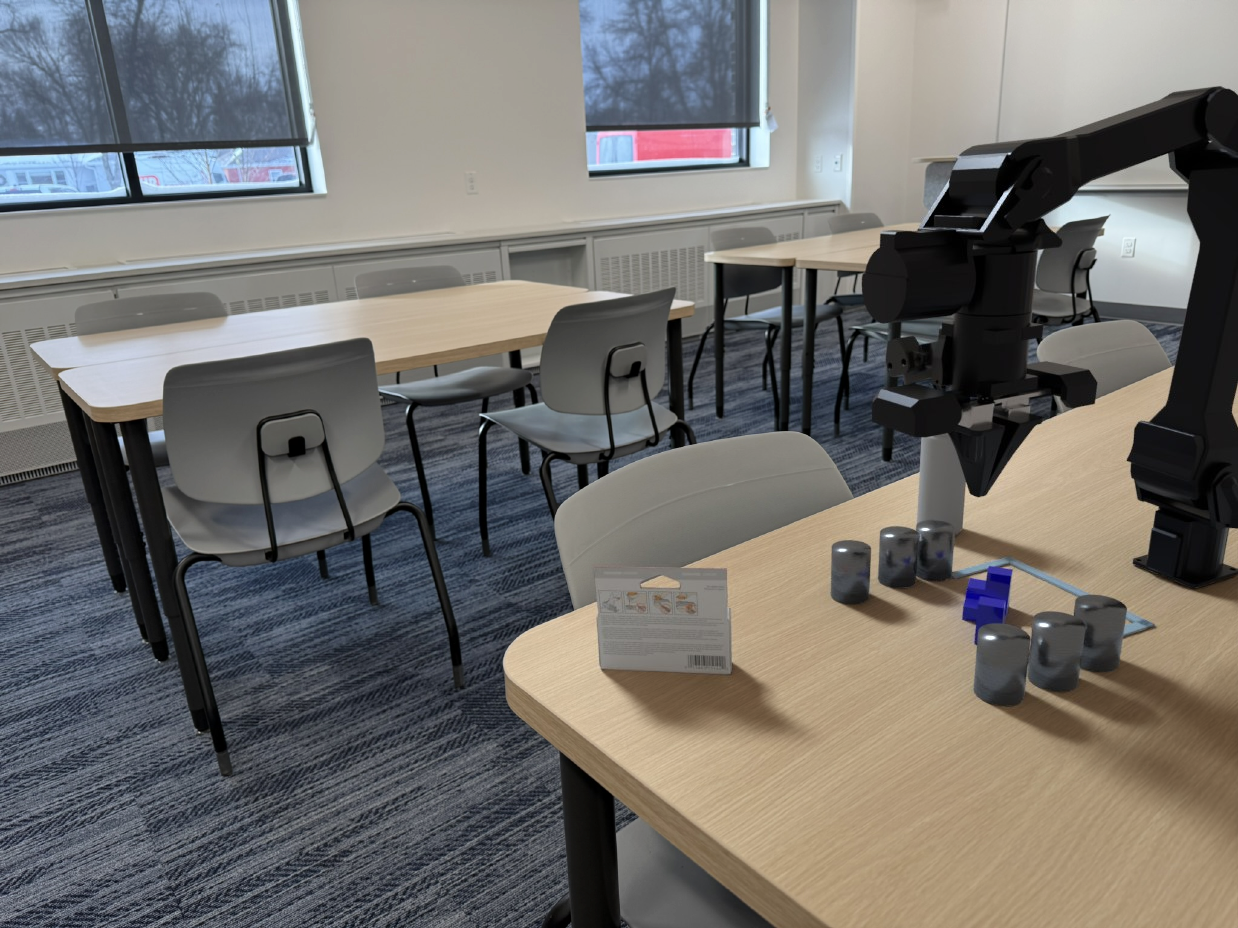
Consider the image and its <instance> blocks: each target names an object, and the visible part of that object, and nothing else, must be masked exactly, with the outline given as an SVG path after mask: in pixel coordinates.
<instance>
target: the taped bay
mask: <svg viewBox="0 0 1238 928" xmlns="http://www.w3.org/2000/svg"><path fill="white" fill-rule="evenodd" d="M1007 565H1011V566H1013V567H1015V568H1017V569H1019V570H1021V571H1022V572H1023V571H1024V572H1026V573H1028V574H1030V575H1032V576H1034V577H1036V578H1039V579H1040V580H1043V581H1044V582H1047V583H1048V584H1051V585H1053V586H1055V587H1056V588H1057V587H1058V588H1059V589H1062V591H1066V592H1068V593H1069V594H1072V595H1074V596H1076V597H1077V598H1078V597H1079V596H1083V595H1092V594H1091V593H1089V592H1087V591H1085V590H1082V589H1081V588H1078V587H1076V586H1074V585H1072V584H1070V583H1067V582H1065V581H1063V580H1061V579H1059V578H1056V577H1055V576H1052V575H1050V574H1048V573H1046V572H1044V571H1042V570H1040V569H1037V568H1035V567H1033V566H1031V565H1028V564H1026V563H1024V562H1022V561H1021V560H1018V559H1016V558H1013V557H1011V556H1007V557H1006V556H1005V557H1002V558H999V559H995V560H991V561H988V562H983V563H980V564H977V565H974V566H973V565H972V566H970V567H965V568H962V569H958V570H954V571H952V575H951V578H953V579H959V578H964V577H966V576H969V575H974V574H977V573H980V572H981V573H982V572H985V571H988V567H989V566H993V567H1000V568H1001V567H1003V566H1007ZM1126 621H1128V622H1131V623H1128V624H1125V627H1124V634H1123V637H1126V636H1129V635H1132V634H1135V633H1138V632H1141V631H1144V630H1148V629H1150V628H1153V627H1155V623H1154V622H1152V621H1149V620H1148V619H1145V618H1143V617H1141V616H1139V615H1136V614H1134V613H1133V612H1130V611H1128V610H1127V614H1126Z"/></svg>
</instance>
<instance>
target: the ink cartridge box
mask: <svg viewBox="0 0 1238 928" xmlns="http://www.w3.org/2000/svg"><path fill="white" fill-rule="evenodd" d="M592 570H593V571H592V572H593V578H594V579H593V580H594V589H595V597H596V605H597V606H596V607H597V614H596V633H597V644H598V645H597V646H598V648H597V649H598V661H599V662H598V663H599V667H600V669H602V670H614V671H615V670H617V671H618V670H619V671H634V672H635V671H637V672H638V671H639V672H640V671H641V672H659V673H660V672H662V673H663V672H664V673H682V674H684V673H686V674H705V675H706V674H707V675H708V674H709V675H730V674H731V673H732V666H733V658H732V657H733V655H732V654H733V653H732V652H733V651H732V647H733V646H732V609H731V607H728V604H729V603H728V602H729V601H728V600H729V599H728V596H729V595H728V569H727V568H726V567H725V568H721V567H720V568H719V567H716V568H715V567H712V568H711V567H710V568H709V567H706V568H705V567H660V566H658V567H656V566H654V567H652V566H651V567H649V566H648V567H647V566H592ZM655 576H663V577H666V578H669V579H670V580H672V581H676V582H677V583H679V587H654V586H653V587H652V586H651V587H649V586H642V585H641V583H642V582H643V581H646V580H648V579H650V578H653V577H655Z"/></svg>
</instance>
